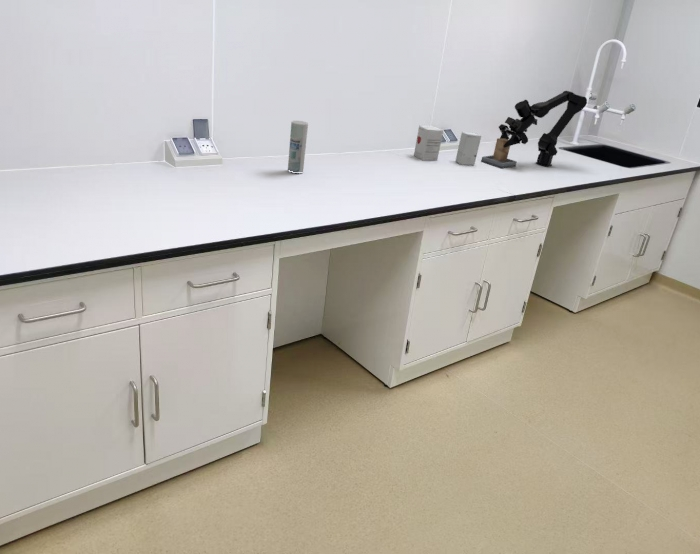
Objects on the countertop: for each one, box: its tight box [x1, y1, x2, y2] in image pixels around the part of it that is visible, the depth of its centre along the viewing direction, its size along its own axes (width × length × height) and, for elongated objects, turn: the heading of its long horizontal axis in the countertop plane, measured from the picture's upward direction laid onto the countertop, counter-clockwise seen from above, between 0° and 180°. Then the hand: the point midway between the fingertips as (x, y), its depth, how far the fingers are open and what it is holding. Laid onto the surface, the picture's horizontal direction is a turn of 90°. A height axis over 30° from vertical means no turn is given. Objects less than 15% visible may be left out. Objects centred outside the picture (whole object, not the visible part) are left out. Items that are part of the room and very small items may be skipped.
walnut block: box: [493, 137, 511, 161], centre depth 293 cm, size 5×5×10 cm
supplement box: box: [413, 124, 444, 161], centre depth 285 cm, size 9×9×15 cm
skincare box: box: [455, 131, 482, 166], centre depth 285 cm, size 8×6×15 cm
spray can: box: [287, 120, 309, 173], centre depth 232 cm, size 6×6×20 cm
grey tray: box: [480, 155, 517, 169], centre depth 296 cm, size 13×13×2 cm
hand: (500, 145), depth 292 cm, fingers closed on walnut block, 5 cm apart
